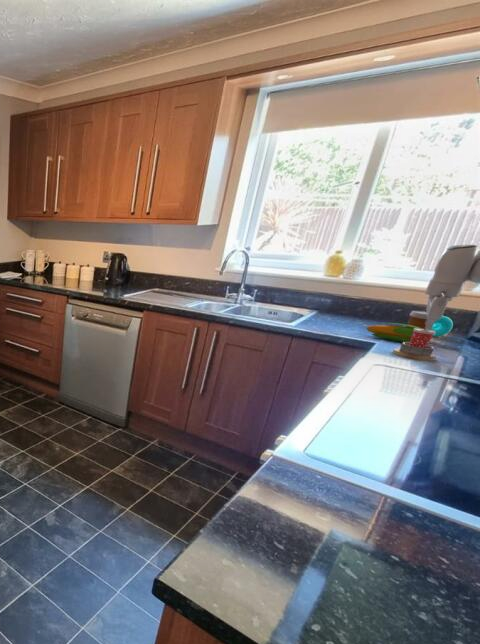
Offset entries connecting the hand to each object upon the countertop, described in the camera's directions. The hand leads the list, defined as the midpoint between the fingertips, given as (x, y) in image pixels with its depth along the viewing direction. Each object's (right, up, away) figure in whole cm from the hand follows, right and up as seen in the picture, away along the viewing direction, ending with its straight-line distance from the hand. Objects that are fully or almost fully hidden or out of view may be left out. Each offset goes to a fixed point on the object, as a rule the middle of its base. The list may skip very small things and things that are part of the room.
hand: (427, 327), depth 162 cm
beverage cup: (-1, -10, +4) cm, 11 cm away
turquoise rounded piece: (+43, +1, +39) cm, 58 cm away
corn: (+14, -2, +28) cm, 31 cm away
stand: (-1, -11, +5) cm, 12 cm away
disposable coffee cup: (+28, -1, +31) cm, 42 cm away
